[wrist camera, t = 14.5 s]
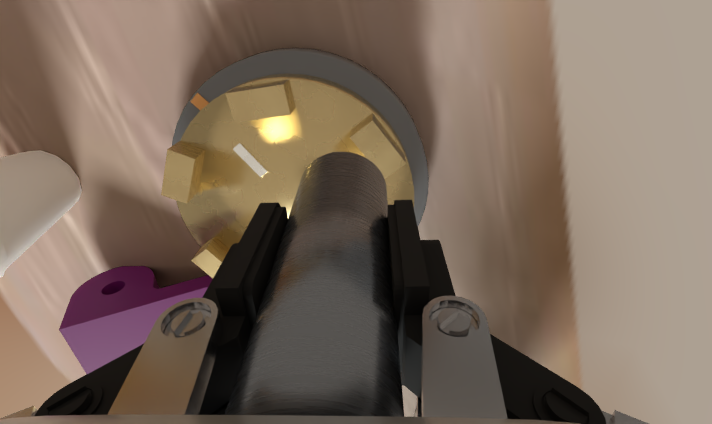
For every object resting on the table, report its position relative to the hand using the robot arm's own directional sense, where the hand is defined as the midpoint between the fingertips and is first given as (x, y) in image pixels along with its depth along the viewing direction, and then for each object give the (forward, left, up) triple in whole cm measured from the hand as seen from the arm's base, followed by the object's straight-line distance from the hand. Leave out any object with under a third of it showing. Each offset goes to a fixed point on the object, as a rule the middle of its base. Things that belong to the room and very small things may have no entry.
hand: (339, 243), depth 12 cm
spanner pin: (0, 0, -3) cm, 3 cm away
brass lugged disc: (+1, +10, -20) cm, 22 cm away
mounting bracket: (+5, +31, -24) cm, 39 cm away
